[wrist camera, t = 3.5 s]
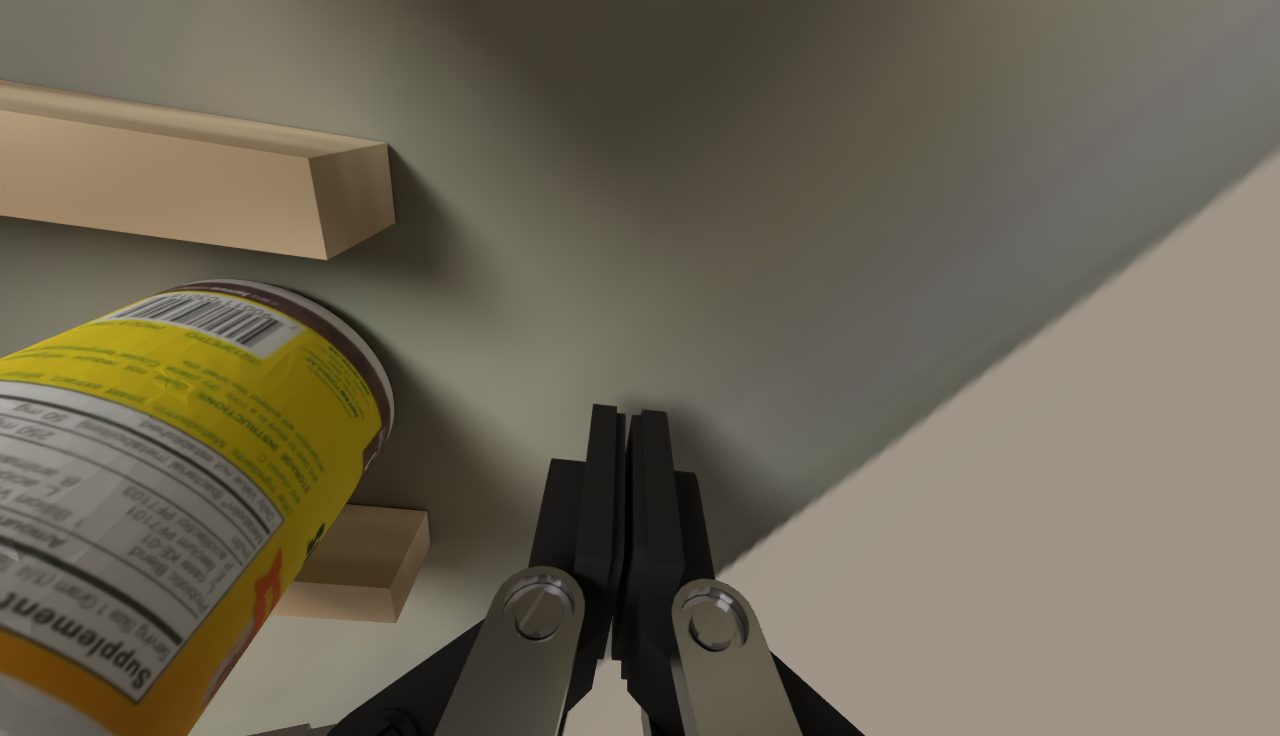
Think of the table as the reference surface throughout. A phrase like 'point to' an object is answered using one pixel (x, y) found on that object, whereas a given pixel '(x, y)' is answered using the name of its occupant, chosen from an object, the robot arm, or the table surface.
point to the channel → (228, 216)
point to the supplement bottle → (168, 497)
